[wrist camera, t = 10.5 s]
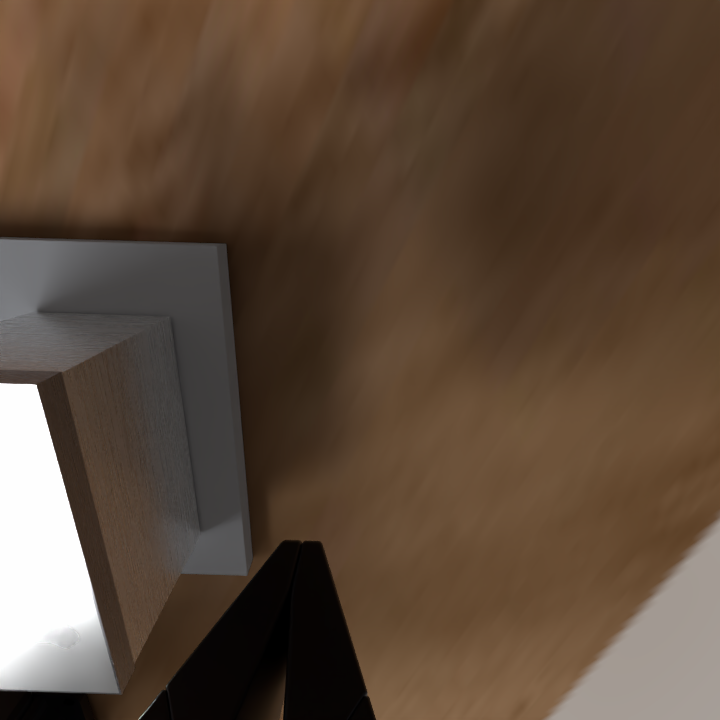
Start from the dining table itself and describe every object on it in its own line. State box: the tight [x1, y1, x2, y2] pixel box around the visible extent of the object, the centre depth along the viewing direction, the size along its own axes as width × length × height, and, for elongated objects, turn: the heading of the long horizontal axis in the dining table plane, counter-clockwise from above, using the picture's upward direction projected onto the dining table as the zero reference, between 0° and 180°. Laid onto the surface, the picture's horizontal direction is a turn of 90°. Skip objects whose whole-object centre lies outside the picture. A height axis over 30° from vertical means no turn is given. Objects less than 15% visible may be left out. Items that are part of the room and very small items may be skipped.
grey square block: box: [0, 312, 201, 695], centre depth 10 cm, size 8×4×5 cm, turn 178°
